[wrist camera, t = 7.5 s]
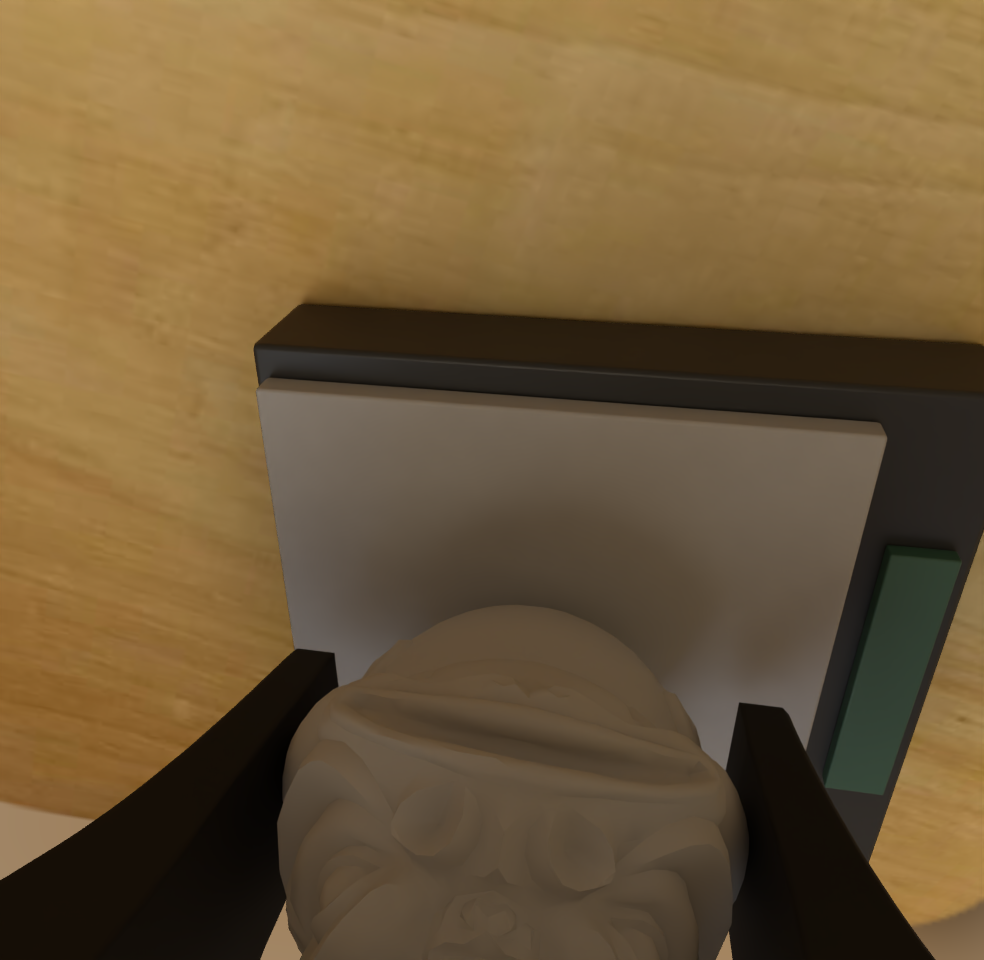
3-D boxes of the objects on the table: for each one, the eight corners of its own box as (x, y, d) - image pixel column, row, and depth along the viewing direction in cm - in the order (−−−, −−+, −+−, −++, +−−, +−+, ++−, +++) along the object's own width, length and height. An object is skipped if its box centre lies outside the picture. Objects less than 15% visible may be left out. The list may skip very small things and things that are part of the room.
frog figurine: (782, 508, 12) (890, 1001, 6) (677, 823, 16) (684, 1328, 10) (371, 435, 13) (119, 826, 7) (360, 756, 16) (187, 1193, 11)
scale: (848, 790, 18) (872, 897, 16) (347, 723, 20) (308, 812, 18) (984, 343, 13) (1046, 414, 11) (298, 301, 15) (236, 356, 13)
